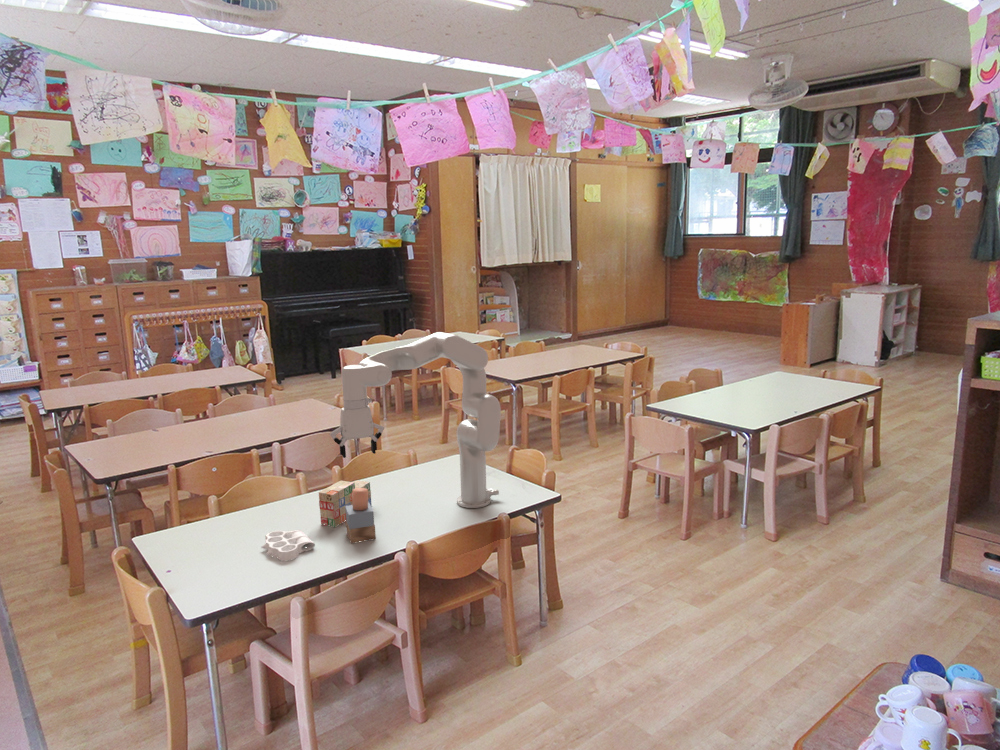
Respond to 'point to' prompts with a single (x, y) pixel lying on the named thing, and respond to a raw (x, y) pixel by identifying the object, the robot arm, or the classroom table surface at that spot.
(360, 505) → the terracotta cylinder
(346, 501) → the stack of blocks
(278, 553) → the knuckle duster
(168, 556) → the classroom table surface
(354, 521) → the tower top
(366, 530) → the tower base
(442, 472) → the classroom table surface
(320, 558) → the classroom table surface
